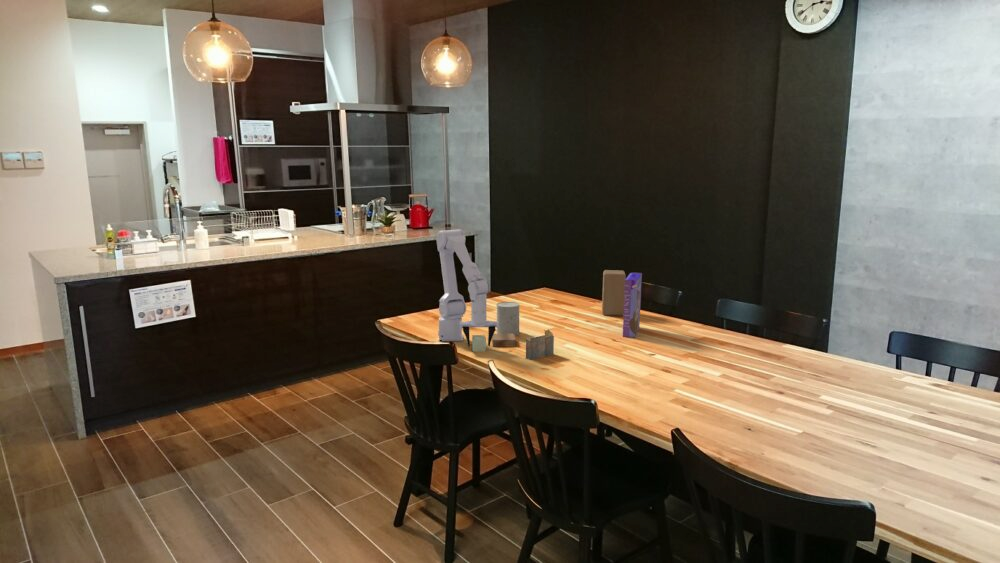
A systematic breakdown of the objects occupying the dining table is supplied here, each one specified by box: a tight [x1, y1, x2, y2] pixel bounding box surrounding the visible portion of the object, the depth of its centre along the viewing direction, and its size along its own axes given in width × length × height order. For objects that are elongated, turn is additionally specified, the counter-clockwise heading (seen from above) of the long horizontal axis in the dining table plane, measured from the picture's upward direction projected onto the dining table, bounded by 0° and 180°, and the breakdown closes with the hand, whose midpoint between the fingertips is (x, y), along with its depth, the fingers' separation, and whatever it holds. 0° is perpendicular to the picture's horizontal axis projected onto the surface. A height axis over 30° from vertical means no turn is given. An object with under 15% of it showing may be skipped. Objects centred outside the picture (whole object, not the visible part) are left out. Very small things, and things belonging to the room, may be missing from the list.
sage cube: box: [471, 334, 487, 352], centre depth 240 cm, size 5×5×5 cm
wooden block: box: [601, 269, 627, 317], centre depth 294 cm, size 10×10×20 cm
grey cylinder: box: [496, 301, 520, 336], centre depth 261 cm, size 10×10×12 cm
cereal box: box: [622, 272, 643, 339], centre depth 263 cm, size 17×5×24 cm, turn 161°
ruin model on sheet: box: [525, 328, 555, 361], centre depth 231 cm, size 11×3×10 cm, turn 128°
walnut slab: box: [491, 333, 517, 347], centre depth 248 cm, size 9×9×2 cm
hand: (479, 345), depth 240 cm, fingers open, 7 cm apart
